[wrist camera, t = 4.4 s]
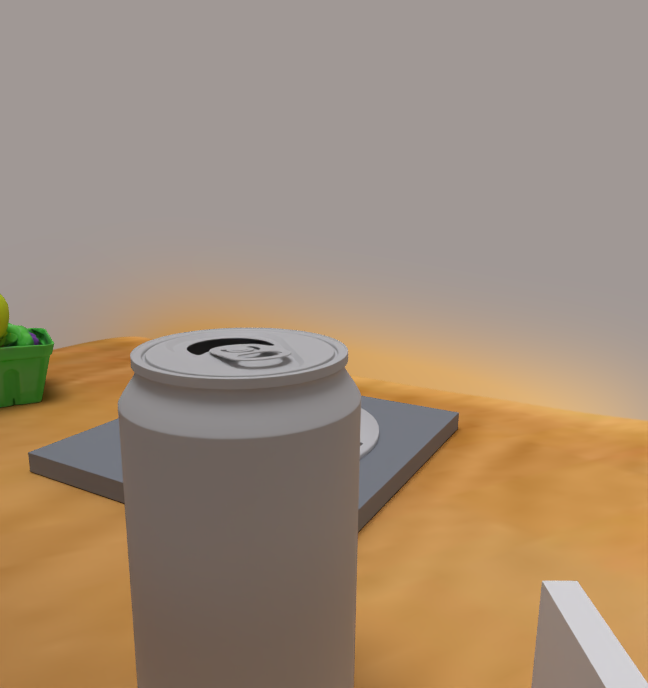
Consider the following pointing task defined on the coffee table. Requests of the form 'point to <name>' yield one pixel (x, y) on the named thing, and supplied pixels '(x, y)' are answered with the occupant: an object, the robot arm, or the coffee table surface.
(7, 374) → the fruit basket
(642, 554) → the coffee table surface
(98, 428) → the board
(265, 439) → the beverage can
